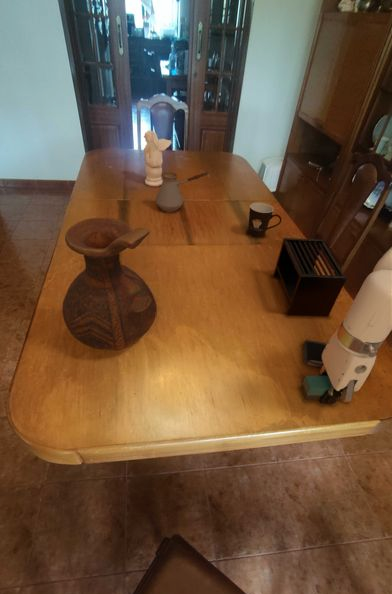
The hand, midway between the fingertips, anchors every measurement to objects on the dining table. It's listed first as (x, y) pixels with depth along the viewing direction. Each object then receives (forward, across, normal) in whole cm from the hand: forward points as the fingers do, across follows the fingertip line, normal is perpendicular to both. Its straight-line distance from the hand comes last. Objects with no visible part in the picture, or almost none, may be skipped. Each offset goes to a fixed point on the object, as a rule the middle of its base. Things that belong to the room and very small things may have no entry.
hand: (324, 393), depth 71 cm
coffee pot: (0, +94, +32) cm, 99 cm away
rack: (0, +37, -4) cm, 37 cm away
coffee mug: (0, +74, +2) cm, 74 cm away
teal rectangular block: (0, 0, 0) cm, 0 cm away
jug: (0, +19, +49) cm, 53 cm away
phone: (0, +11, -6) cm, 12 cm away
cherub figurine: (0, +121, +43) cm, 128 cm away
